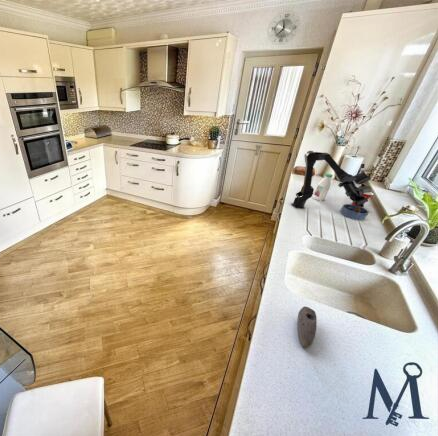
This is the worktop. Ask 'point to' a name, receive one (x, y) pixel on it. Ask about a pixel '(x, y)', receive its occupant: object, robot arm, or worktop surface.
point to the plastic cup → (365, 196)
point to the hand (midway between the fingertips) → (362, 206)
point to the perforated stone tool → (306, 326)
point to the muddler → (357, 209)
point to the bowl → (348, 212)
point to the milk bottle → (323, 187)
